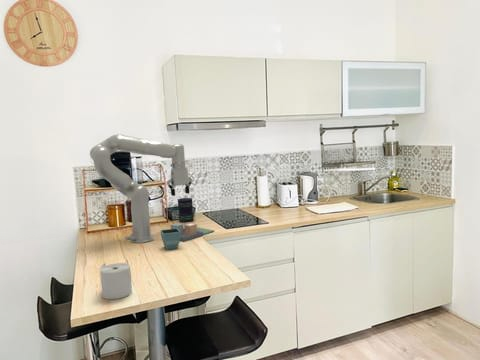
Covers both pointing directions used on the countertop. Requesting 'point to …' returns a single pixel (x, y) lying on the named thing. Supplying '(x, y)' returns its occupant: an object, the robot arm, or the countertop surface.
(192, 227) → the labelled box
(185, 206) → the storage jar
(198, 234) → the parts tray
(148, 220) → the robot arm
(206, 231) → the mat
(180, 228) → the plain box
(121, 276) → the toilet tissue
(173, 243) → the flower pot
